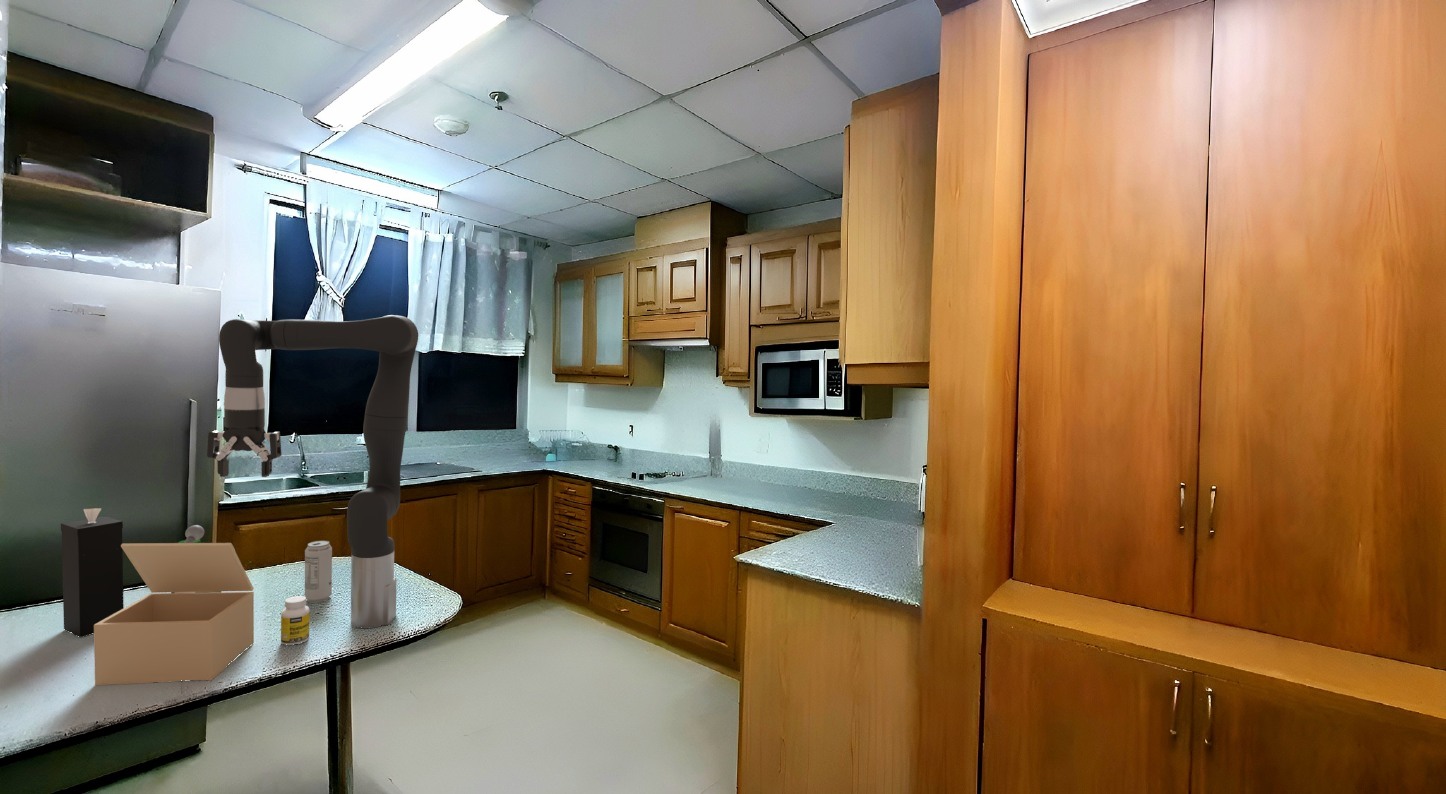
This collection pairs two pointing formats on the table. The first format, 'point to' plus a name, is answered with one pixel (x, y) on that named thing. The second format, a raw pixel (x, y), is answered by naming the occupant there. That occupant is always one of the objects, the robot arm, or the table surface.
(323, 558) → the energy drink can
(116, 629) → the carton
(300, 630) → the supplement bottle
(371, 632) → the table surface
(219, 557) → the flap
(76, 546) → the tall black box
